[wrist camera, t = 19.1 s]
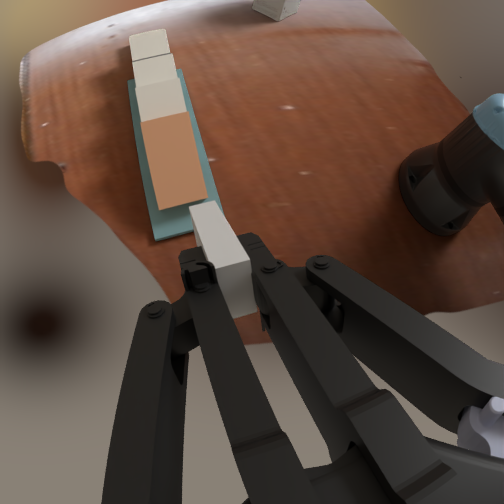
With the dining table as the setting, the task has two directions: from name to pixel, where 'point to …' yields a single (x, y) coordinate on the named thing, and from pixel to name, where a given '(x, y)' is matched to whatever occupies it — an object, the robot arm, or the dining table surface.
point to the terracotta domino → (173, 160)
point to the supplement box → (276, 8)
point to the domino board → (162, 220)
